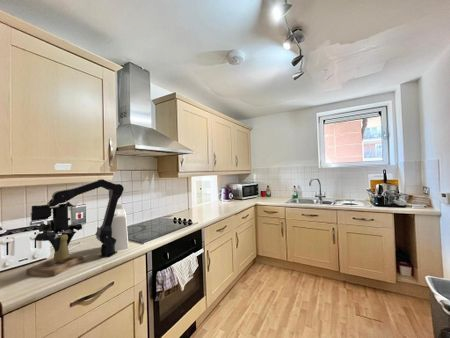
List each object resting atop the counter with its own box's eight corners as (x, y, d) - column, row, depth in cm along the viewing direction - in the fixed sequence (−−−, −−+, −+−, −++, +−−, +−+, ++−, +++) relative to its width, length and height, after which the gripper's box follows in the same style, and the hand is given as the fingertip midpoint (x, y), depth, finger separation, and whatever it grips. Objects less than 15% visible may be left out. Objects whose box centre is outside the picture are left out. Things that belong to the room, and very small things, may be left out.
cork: (72, 254, 99) (72, 232, 99) (63, 260, 93) (62, 236, 93) (60, 255, 98) (59, 233, 98) (49, 261, 92) (49, 237, 92)
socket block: (58, 260, 105) (58, 255, 105) (83, 261, 103) (83, 256, 103) (26, 274, 90) (26, 269, 90) (54, 276, 88) (54, 270, 88)
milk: (128, 242, 129) (126, 202, 130) (127, 248, 119) (126, 204, 119) (106, 245, 124) (105, 204, 125) (104, 252, 114) (103, 206, 114)
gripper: (63, 213, 106) (64, 242, 106) (24, 221, 88) (25, 257, 87) (82, 212, 105) (83, 242, 104) (46, 221, 86) (47, 257, 86)
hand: (61, 249), depth 95 cm, fingers closed on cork, 4 cm apart
